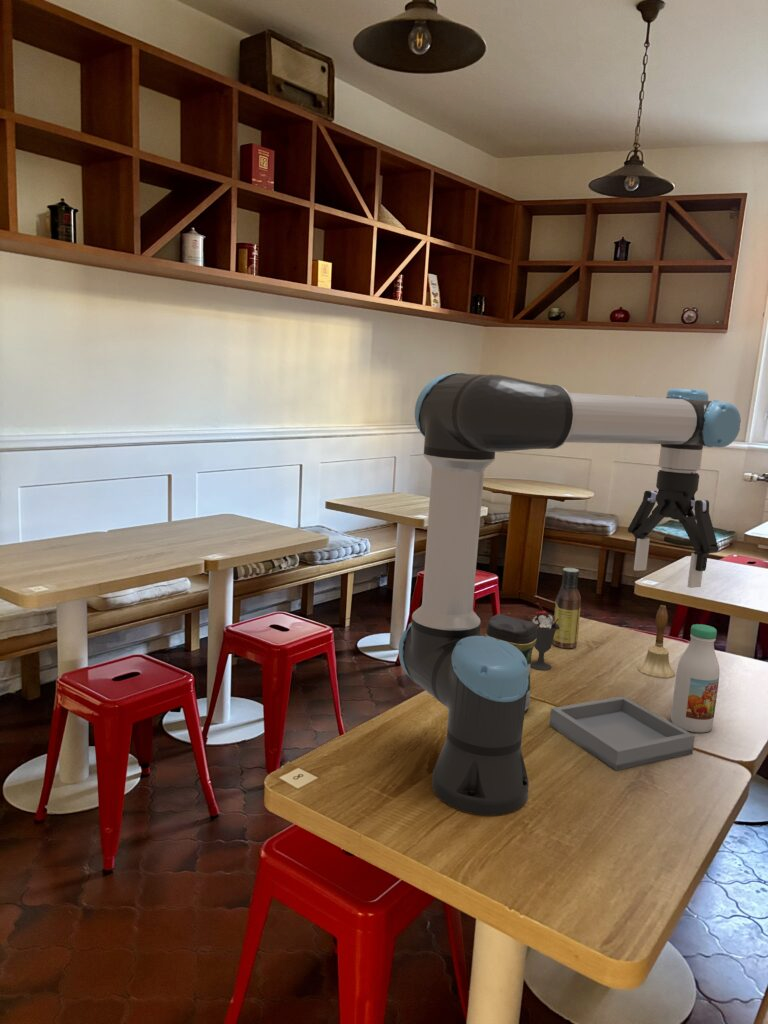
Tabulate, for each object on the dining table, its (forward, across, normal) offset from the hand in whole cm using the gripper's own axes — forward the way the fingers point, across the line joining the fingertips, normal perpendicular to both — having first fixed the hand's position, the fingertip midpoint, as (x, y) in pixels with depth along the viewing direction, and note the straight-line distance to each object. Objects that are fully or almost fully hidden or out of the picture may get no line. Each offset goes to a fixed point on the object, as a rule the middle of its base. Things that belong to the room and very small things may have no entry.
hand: (665, 578), depth 148 cm
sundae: (+28, +28, +5) cm, 40 cm away
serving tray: (+28, -7, +15) cm, 32 cm away
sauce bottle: (+28, +38, -10) cm, 48 cm away
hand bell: (+28, +17, -19) cm, 38 cm away
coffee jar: (+28, +13, +27) cm, 41 cm away
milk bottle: (+28, -7, -4) cm, 29 cm away
